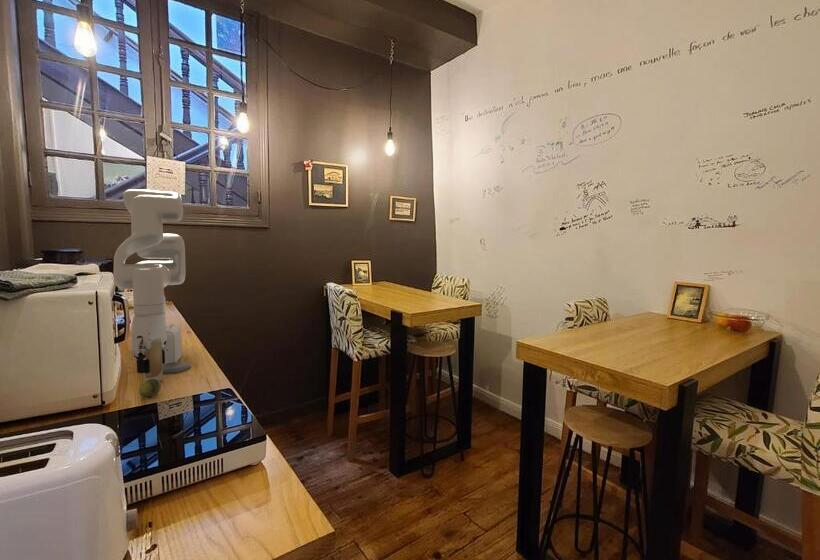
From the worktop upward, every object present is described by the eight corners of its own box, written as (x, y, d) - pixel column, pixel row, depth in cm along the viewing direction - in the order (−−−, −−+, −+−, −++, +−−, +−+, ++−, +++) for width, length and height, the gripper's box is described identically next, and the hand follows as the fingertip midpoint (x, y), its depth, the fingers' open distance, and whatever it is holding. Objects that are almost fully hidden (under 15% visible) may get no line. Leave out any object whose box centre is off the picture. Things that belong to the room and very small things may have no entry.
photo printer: (176, 365, 132) (174, 328, 131) (161, 365, 131) (159, 328, 129) (183, 355, 142) (182, 321, 140) (169, 356, 141) (168, 321, 139)
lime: (137, 401, 104) (136, 382, 104) (146, 393, 109) (145, 376, 108) (155, 400, 105) (155, 382, 104) (164, 393, 110) (163, 375, 109)
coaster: (167, 364, 133) (167, 361, 133) (195, 364, 133) (195, 362, 133) (152, 373, 124) (151, 371, 124) (182, 374, 124) (182, 371, 124)
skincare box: (143, 376, 121) (142, 337, 119) (160, 374, 123) (159, 335, 122) (145, 383, 116) (144, 342, 114) (163, 380, 118) (161, 340, 117)
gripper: (153, 303, 125) (155, 358, 127) (116, 315, 108) (119, 378, 110) (178, 304, 126) (179, 359, 128) (145, 315, 109) (147, 378, 111)
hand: (151, 367), depth 119 cm, fingers closed on skincare box, 7 cm apart
